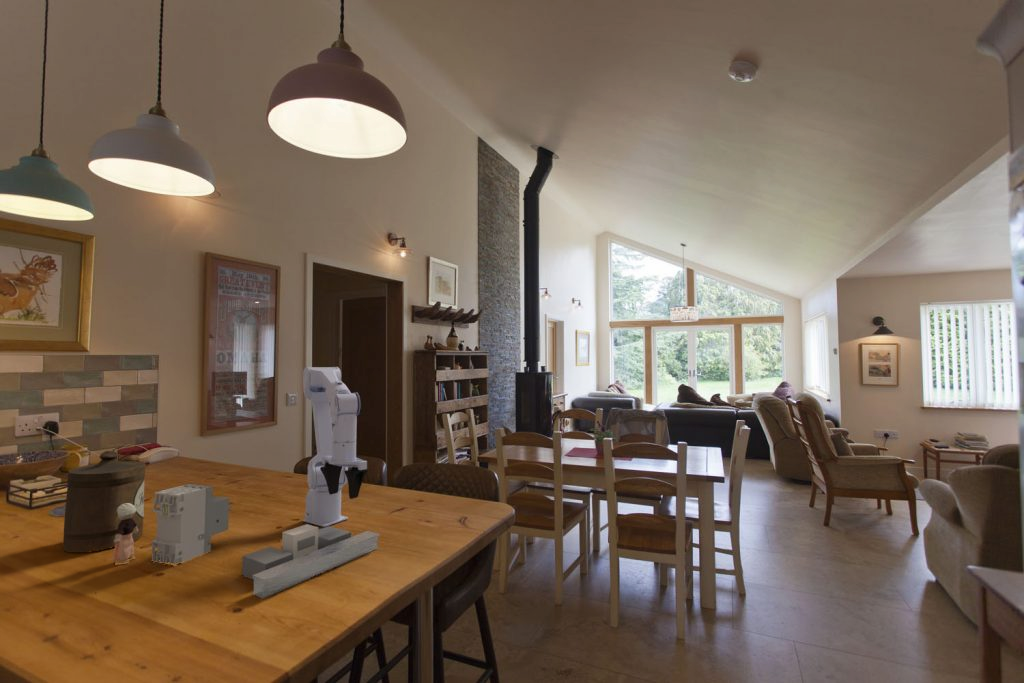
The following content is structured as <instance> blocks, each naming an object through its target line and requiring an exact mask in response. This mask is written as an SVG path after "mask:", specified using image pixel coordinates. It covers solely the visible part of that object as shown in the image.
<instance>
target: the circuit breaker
mask: <svg viewBox="0 0 1024 683" xmlns="http://www.w3.org/2000/svg"><path fill="white" fill-rule="evenodd" d="M213 490H214V487H213V486H210V485H208V486H207V485H201V484H192V483H191V484H190V483H188V484H184V485H180V486H175V487H171V488H167V489H164V490H160V491H155V492H154V495H155V498H154V499H153V501H152V502H153V503H152V512H153V513H156V533H155V534H156V536H155V537H156V538H154V539H153V538H152V540H151V551H150V555H152V559H151V560H150V562H151V561H156V562H163V563H165V562H166V563H168V562H170V564H171V563H174V565H176V564H177V563H179V562H184V561H186V560H189V559H192V558H194V557H196V556H199V555H202V554H204V553H206V552H209V551H211V550H212V544H211V543H210V542H211V541H212V536H215V535H217V534H220V533H223V532H225V531H226V532H227V531H228V530H229V518H230V517H229V516H230V513H229V512H230V511H231V506H230V498H229V497H224V496H216V495H214V496H213V494H214V492H213ZM158 505H159V507H157V506H158ZM156 548H157V550H156ZM159 560H160V561H159Z"/></svg>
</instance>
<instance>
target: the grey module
mask: <svg viewBox="0 0 1024 683" xmlns="http://www.w3.org/2000/svg"><path fill="white" fill-rule="evenodd" d="M318 530H319V527H318V526H316V525H315V526H314V525H311V524H309V523H306V524H304V525H300V526H297V527H294V528H291V529H287V530H285V531H282V532H281V533H282V537H281V539H282V540H281V550H283V551H286V552H289V553H292V554H293V559H296V558H298V557H301V556H304V555H306V554H309V553H311V552H314V551H317V550H318Z"/></svg>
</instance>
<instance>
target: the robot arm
mask: <svg viewBox="0 0 1024 683" xmlns="http://www.w3.org/2000/svg"><path fill="white" fill-rule="evenodd" d="M302 389H303V394H304V398H306V399H307V400H309V401H310V403H311V406H312V408H311V409H312V414H313V425H314V426H313V427H314V433H315V434H314V435H315V437H314V438H315V446H316V455H314V456H313V457H312V458H311V459H310V460H309V462H308V464H307V475H306V476H307V477H306V478H307V480H306V481H307V485H308V488H310V489H309V490H308V491H307V493H306V496H305V513H304V514H305V516H304V517H305V518H302V520H301V521H302V522H304V523H306V524H310V525H311V524H313V525H315V526H319V527H322V528H325V527H328V526H331V525H334V524H337V523H340V522H343V521H346V520H348V519H349V517H348V516H344V515H342V489H343V488H344V485H346V484H347V485H348V498H349V500H351V499H352V500H353V499H356V498H358V497H359V494H360V491H361V487H362V484H363V481H364V479H365V477H366V475H367V473H368V472H369V468H368V461H367V460H364V459H361V458H359V457H357V428H358V427H357V426H358V425H357V423H358V420H357V419H358V418H357V417H358V416H359V415H360V410H361V397H360V395H359V392H351V391H350V389H349V388H348V386H347V385H346V384H345V383H344V382H343V381H342V371H341V369H340V368H339V367H338V366H333V367H331V366H329V367H328V366H327V367H325V366H322V367H320V366H319V367H317V366H314V367H313V366H305V368H304V369H303V372H302ZM349 468H350V469H349Z"/></svg>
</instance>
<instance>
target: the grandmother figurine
mask: <svg viewBox="0 0 1024 683" xmlns="http://www.w3.org/2000/svg"><path fill="white" fill-rule="evenodd" d="M117 512H118V518H119V519H120V520H122V521H121V522H120V523H119V525H118V529H117V531H116V536H115V540H114V543H116V545H115V548H113V549H114V550H113V555H112V561H115V562H114V563H125V562H129V561H130V562H131V560H128V559H132V558H135V559H136V557H135V556H134V554H135V546H134V545H135V544H134V542H135V541H133V538H132V533H137V532H138V529H137V524H136V523H135V521H134V520H133V518H131V517H132V515H133V514H134V513H135V512H136V508H135V506H134V505H132V504H130V503H125V504H122V505H120V506H119V507H118V509H117Z"/></svg>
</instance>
